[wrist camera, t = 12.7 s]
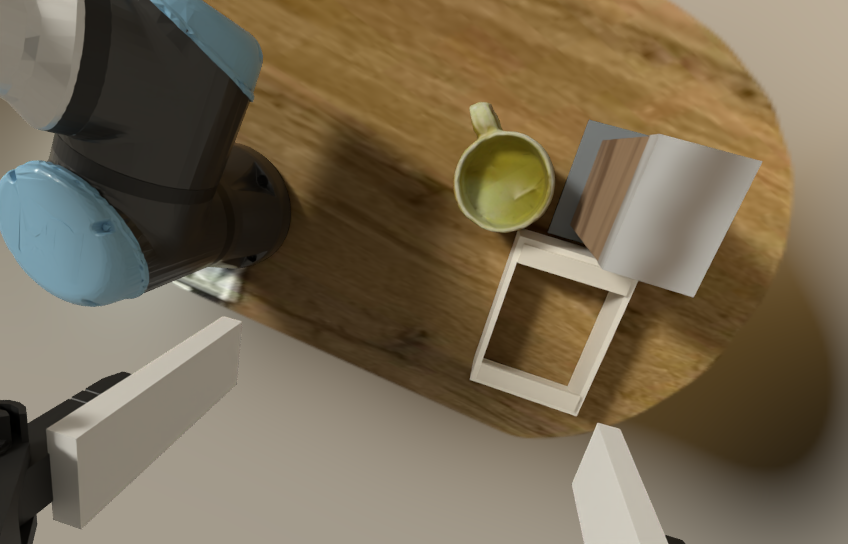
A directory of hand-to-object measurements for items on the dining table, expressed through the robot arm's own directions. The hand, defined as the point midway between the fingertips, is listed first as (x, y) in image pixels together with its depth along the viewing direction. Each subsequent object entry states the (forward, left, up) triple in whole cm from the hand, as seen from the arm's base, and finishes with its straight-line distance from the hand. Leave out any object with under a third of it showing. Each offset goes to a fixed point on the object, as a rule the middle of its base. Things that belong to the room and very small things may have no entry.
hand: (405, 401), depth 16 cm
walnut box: (+12, +8, -35) cm, 38 cm away
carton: (+10, -7, -35) cm, 37 cm away
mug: (0, +7, -36) cm, 36 cm away
